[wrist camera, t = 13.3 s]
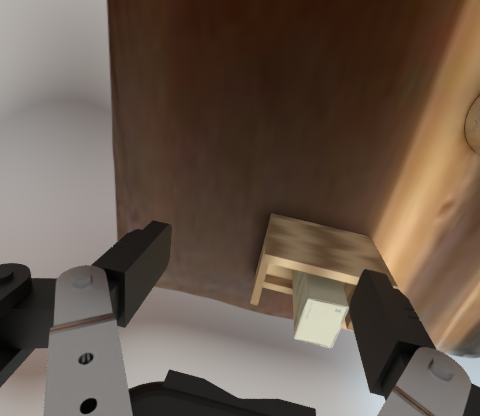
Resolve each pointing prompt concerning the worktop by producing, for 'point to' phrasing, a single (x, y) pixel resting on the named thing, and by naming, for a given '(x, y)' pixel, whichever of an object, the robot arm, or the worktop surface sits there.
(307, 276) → the skincare box
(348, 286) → the caddy
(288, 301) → the worktop surface
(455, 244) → the worktop surface
